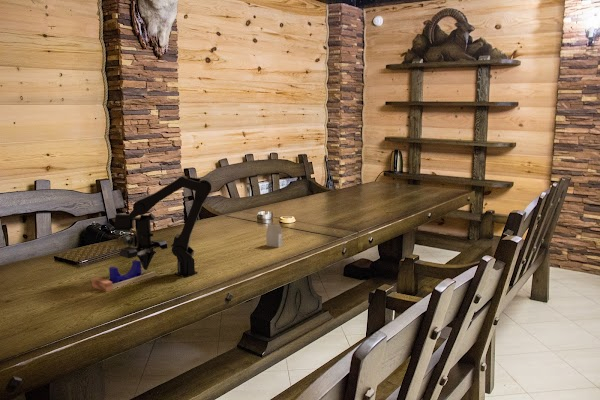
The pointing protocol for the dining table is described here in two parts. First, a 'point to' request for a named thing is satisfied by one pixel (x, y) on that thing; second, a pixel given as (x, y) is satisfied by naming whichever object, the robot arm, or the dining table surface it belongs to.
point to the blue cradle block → (133, 272)
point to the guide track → (107, 284)
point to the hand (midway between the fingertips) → (145, 269)
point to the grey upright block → (274, 236)
